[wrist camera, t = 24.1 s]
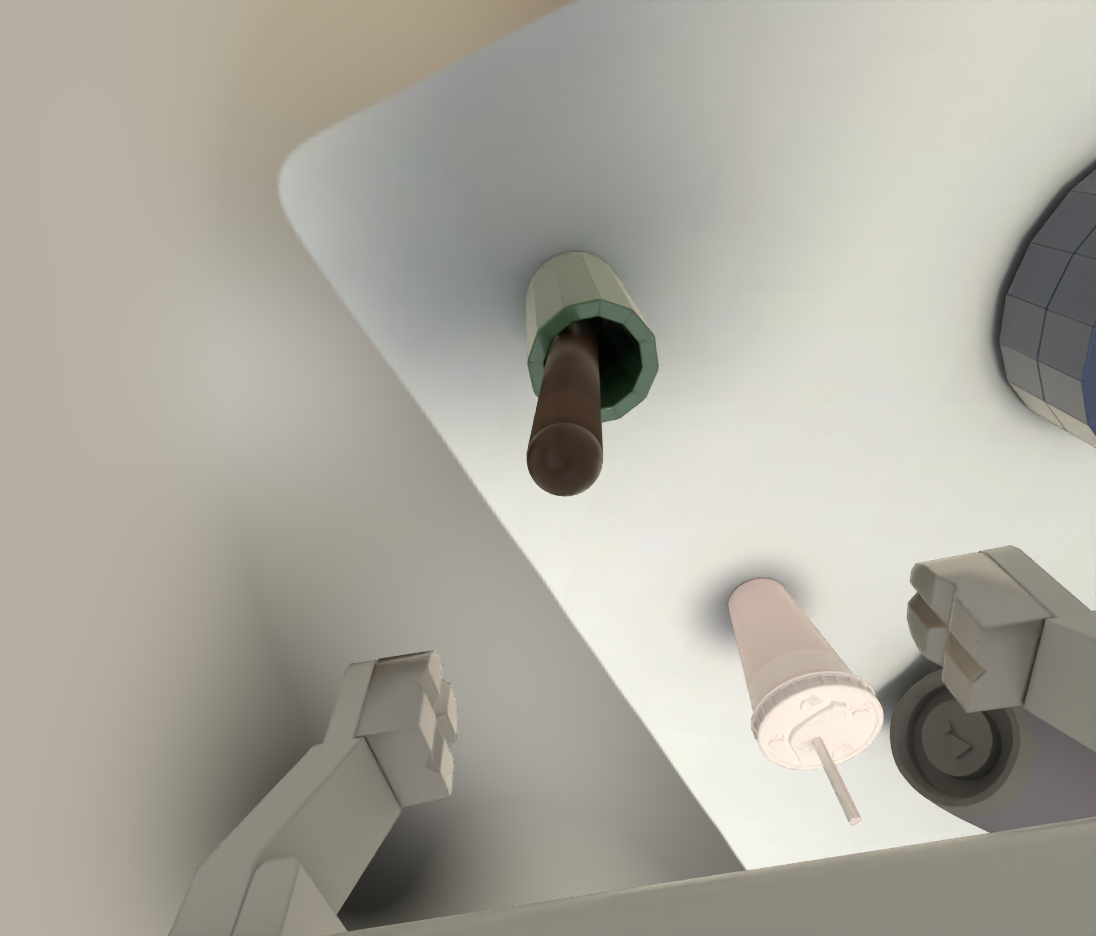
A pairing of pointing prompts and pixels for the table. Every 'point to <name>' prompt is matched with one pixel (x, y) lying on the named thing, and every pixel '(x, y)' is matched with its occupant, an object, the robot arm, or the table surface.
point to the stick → (568, 414)
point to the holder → (623, 334)
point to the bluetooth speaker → (990, 761)
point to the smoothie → (800, 688)
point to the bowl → (1057, 317)
